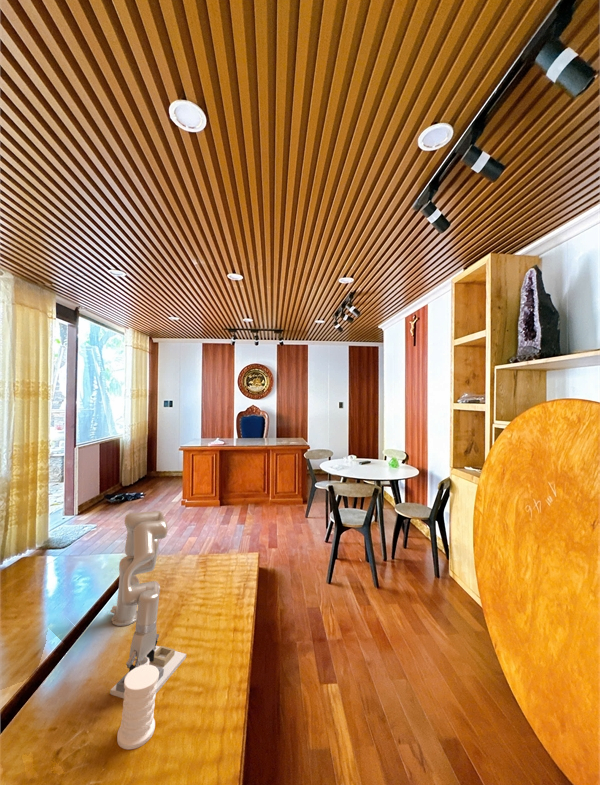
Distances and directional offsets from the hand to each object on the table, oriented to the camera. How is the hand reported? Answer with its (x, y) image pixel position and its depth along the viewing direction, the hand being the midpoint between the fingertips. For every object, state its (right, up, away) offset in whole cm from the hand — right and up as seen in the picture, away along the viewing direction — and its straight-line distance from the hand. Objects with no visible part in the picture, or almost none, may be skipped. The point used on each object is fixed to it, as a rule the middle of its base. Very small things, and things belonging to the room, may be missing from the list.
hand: (141, 669), depth 131 cm
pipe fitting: (0, -5, 0) cm, 5 cm away
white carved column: (+7, -6, -19) cm, 21 cm away
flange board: (+1, -7, +6) cm, 9 cm away
